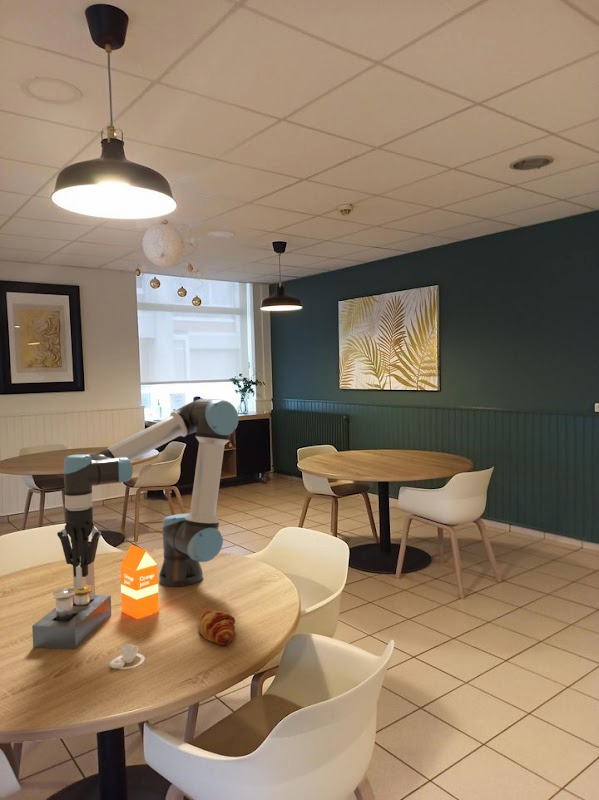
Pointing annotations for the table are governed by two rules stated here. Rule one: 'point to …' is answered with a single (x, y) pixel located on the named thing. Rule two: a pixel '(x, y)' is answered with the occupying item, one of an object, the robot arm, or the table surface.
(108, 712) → the table surface
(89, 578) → the travel mug
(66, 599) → the knob
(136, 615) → the orange juice
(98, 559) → the table surface
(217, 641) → the croissant
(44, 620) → the mount
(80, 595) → the knob
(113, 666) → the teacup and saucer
